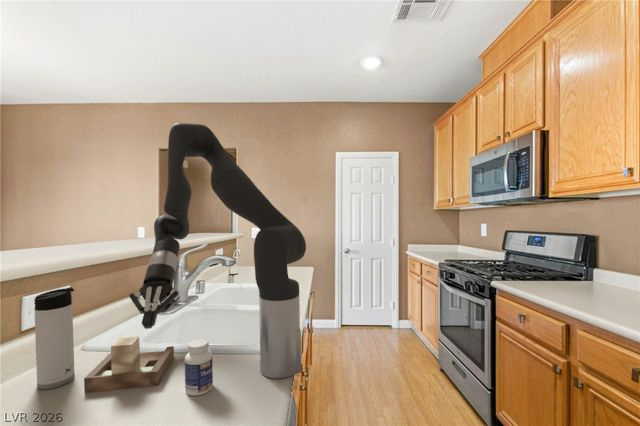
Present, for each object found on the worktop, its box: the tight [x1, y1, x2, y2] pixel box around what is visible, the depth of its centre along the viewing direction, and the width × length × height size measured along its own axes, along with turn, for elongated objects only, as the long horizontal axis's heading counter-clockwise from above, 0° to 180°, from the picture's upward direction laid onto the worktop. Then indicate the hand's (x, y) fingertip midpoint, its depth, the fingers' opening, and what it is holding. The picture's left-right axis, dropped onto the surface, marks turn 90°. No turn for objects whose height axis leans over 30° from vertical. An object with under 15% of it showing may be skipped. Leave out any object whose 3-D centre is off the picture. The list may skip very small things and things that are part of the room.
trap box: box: [83, 345, 175, 394], centre depth 71 cm, size 14×12×3 cm
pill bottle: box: [184, 338, 214, 397], centre depth 65 cm, size 5×5×10 cm
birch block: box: [110, 336, 141, 375], centre depth 68 cm, size 4×4×7 cm
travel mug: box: [34, 286, 76, 390], centre depth 68 cm, size 6×7×20 cm
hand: (147, 327), depth 80 cm, fingers closed
